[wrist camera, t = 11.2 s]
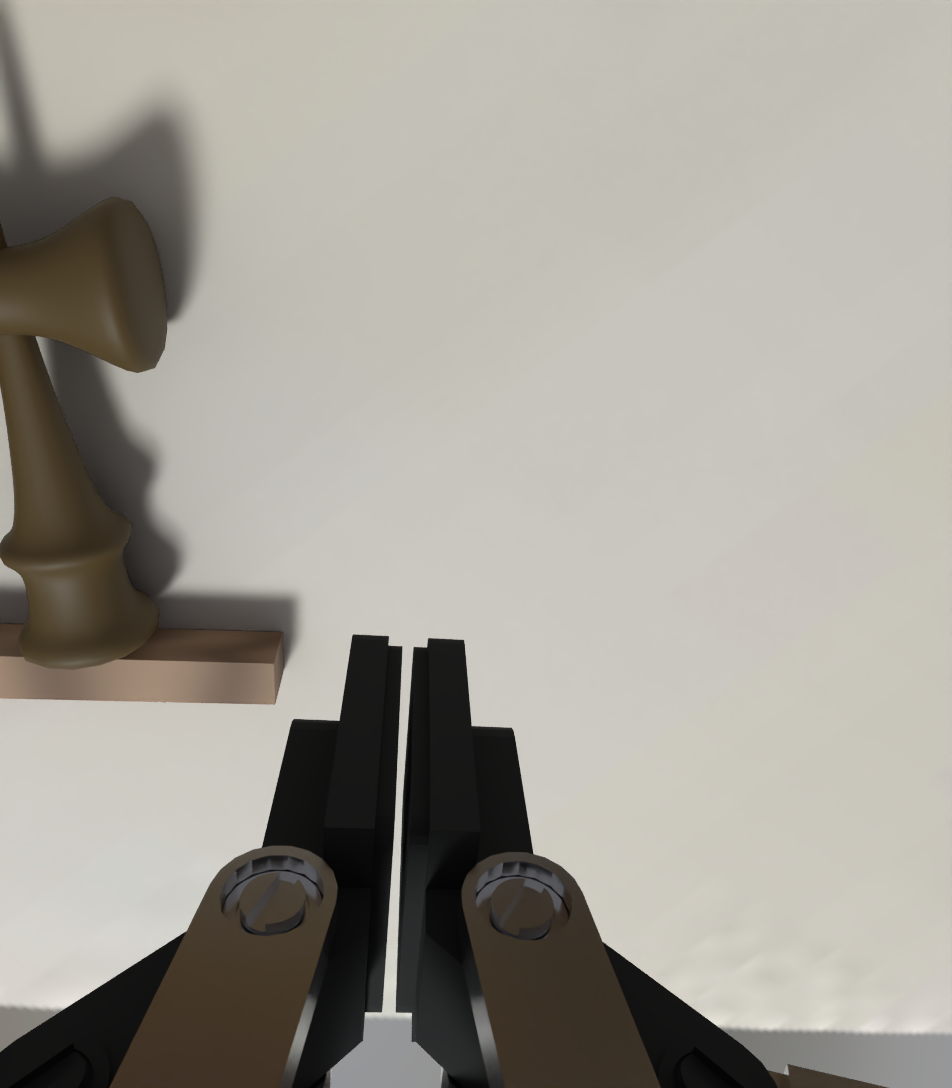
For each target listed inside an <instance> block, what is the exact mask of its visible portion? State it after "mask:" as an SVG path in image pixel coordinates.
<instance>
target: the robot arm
mask: <svg viewBox="0 0 952 1088" xmlns="http://www.w3.org/2000/svg"><path fill="white" fill-rule="evenodd" d="M388 642H389V636H373V635H353V636H352V642H351V649H350V656H349V662H348V669H347V675H346V682H345V689H344V695H343V702H342V709H341V715H340V721H328V720H304V719H294V720H293V721H292V724H291V727H290V731H289V736H288V740H287V744H286V748H285V752H284V757H283V761H282V765H281V769H280V774H279V778H278V782H277V786H276V791H275V795H274V799H273V803H272V807H271V812H270V816H269V820H268V824H267V829H266V833H265V837H264V841H263V846H262V848H259V849H254V850H251V851H249V852H247V853H245V854H243V855H240V856H238V857H236V858H234V859H233V860H232V861H231V862H229V863H228V864H227V865H226V866H224V867H223V868H222V869H220V871H219V872H218V874H217V875H216V876H215V878H214V879H213V881H212V882H211V883H210V885H209V887H208V889H207V891H206V893H205V895H204V897H203V899H202V901H201V903H200V905H199V907H198V909H197V911H196V913H195V915H194V917H193V919H192V922H191V924H190V926H189V928H188V930H187V931H186V932H185V933H183V934H181V935H180V936H178V937H177V938H175V939H174V940H172V941H170V942H169V943H167V944H166V945H164V946H163V947H161V948H159V949H158V950H156V951H155V952H153V953H152V954H150V955H149V956H147V957H145V958H144V959H142V960H141V961H139V962H138V963H136V964H134V965H133V966H131V967H130V968H128V969H127V970H125V971H123V972H122V973H120V974H119V975H117V976H116V977H114V978H113V979H111V980H109V981H108V982H106V983H105V984H103V985H102V986H100V987H98V988H97V989H95V990H94V991H92V992H91V993H89V994H87V995H86V996H84V997H83V998H81V999H80V1000H78V1001H77V1002H75V1003H73V1004H72V1005H70V1006H69V1007H67V1008H66V1009H64V1010H62V1011H61V1012H59V1013H58V1014H56V1015H55V1016H53V1017H52V1018H50V1019H48V1020H47V1021H45V1022H44V1023H42V1024H41V1025H39V1026H37V1027H36V1028H34V1029H33V1030H31V1031H30V1032H28V1033H27V1034H25V1035H23V1036H22V1037H20V1038H19V1039H17V1040H16V1041H14V1042H13V1043H11V1044H10V1045H9V1046H8V1047H6V1048H5V1049H4V1050H3V1051H1V1052H0V1088H330V1085H331V1074H332V1067H333V1066H334V1065H336V1064H337V1063H338V1062H339V1061H340V1060H341V1059H342V1058H343V1057H344V1056H346V1055H347V1054H348V1053H349V1052H350V1051H351V1050H352V1049H354V1048H355V1047H356V1046H357V1045H358V1044H359V1043H360V1042H362V1041H363V1031H364V1017H365V1012H382V1005H383V990H384V975H385V960H386V945H387V930H388V915H389V900H390V885H391V871H392V856H393V840H394V822H395V801H396V779H397V756H398V734H399V711H400V689H401V666H402V646H388ZM396 1012H402V1013H412V1042H417V1043H418V1044H419V1045H420V1046H421V1047H422V1048H423V1049H424V1050H425V1051H426V1052H427V1053H428V1054H429V1055H430V1056H431V1057H432V1058H433V1059H434V1060H435V1061H436V1062H437V1063H438V1064H440V1066H441V1088H887V1087H883V1086H879V1085H875V1084H871V1083H866V1082H862V1081H858V1080H854V1079H849V1078H845V1077H840V1076H836V1075H832V1074H828V1073H824V1072H819V1071H815V1070H811V1069H807V1068H802V1067H798V1066H794V1065H790V1064H787V1066H786V1068H785V1071H784V1074H781V1073H777V1072H773V1071H769V1070H766V1068H765V1067H764V1065H763V1064H762V1062H760V1061H759V1060H758V1059H757V1058H756V1057H755V1056H754V1055H753V1054H752V1053H751V1052H749V1050H747V1049H746V1048H745V1047H744V1046H743V1045H742V1044H740V1043H739V1042H738V1041H736V1040H735V1039H733V1038H732V1037H731V1036H729V1035H728V1034H727V1033H725V1032H724V1031H723V1030H721V1029H720V1028H719V1027H717V1026H716V1025H715V1024H713V1023H712V1022H711V1021H709V1020H708V1019H706V1018H705V1017H704V1016H702V1015H701V1014H700V1013H698V1012H697V1011H696V1010H694V1009H693V1008H692V1007H690V1006H689V1005H687V1004H686V1003H685V1002H683V1001H682V1000H681V999H679V998H678V997H677V996H675V995H674V994H673V993H671V992H670V991H668V990H667V989H666V988H664V987H663V986H662V985H660V984H659V983H658V982H656V981H655V980H654V979H652V978H651V977H650V976H648V975H647V974H645V973H644V972H643V971H641V970H640V969H639V968H637V967H636V966H635V965H633V964H632V963H631V962H629V961H628V960H626V959H625V958H624V957H622V956H621V955H620V954H618V953H617V952H616V951H614V950H613V949H612V948H610V947H609V946H607V945H606V944H605V943H603V942H602V940H601V937H600V935H599V932H598V930H597V927H596V925H595V922H594V920H593V917H592V915H591V912H590V910H589V907H588V905H587V902H586V900H585V897H584V895H583V892H582V891H581V889H580V887H579V886H578V884H577V882H576V881H575V879H574V878H573V877H572V876H571V875H570V874H569V873H568V872H567V871H566V870H565V869H563V868H562V867H561V866H560V865H558V864H556V863H554V862H552V861H550V860H549V859H547V858H545V857H542V856H538V855H534V854H533V849H532V842H531V836H530V830H529V823H528V817H527V811H526V805H525V798H524V792H523V786H522V779H521V773H520V767H519V760H518V754H517V748H516V741H515V736H514V732H513V729H512V728H501V727H477V726H471V714H470V702H469V690H468V678H467V667H466V655H465V644H464V640H453V639H433V638H428V645H427V648H423V647H414V650H413V663H412V677H411V691H410V705H409V719H408V733H407V747H406V761H405V775H404V790H403V808H402V837H401V868H400V898H399V928H398V958H397V989H396Z"/></svg>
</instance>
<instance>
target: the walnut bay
mask: <svg viewBox="0 0 952 1088" xmlns="http://www.w3.org/2000/svg"><path fill="white" fill-rule="evenodd" d="M23 626H24V624H0V698H9V699H54V700H98V701H142V702H187V703H231V704H275V703H276V699H277V695H278V691H279V687H280V683H281V679H282V675H283V632H261V631H228V630H195V629H163V628H157V629H156V630H155V631H154V633H153V634H152V635H151V637H150V638H149V639H148V640H147V642H146V643H145V644H144V645H142V646H141V647H139V648H138V649H136V650H135V651H133V652H132V653H130V654H128V655H127V656H125V657H122V658H120V659H117V660H114V661H111V662H108V663H106V664H103V665H99V666H93V667H87V668H81V669H75V670H69V669H49V668H46V667H43V666H40V665H37V664H34V663H31V662H28V661H25V659H24V657H23V655H22V653H21V651H20V649H19V647H18V645H17V643H18V638H19V635H20V633H21V630H22V628H23Z"/></svg>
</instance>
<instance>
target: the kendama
mask: <svg viewBox="0 0 952 1088" xmlns="http://www.w3.org/2000/svg"><path fill="white" fill-rule="evenodd" d="M166 334H167V306H166V297H165V289H164V281H163V274H162V270H161V266H160V262H159V257H158V253H157V249H156V246H155V243H154V240H153V237H152V235H151V232H150V229H149V226H148V224H147V222H146V221H145V219H144V218H143V216H142V215H141V213H140V212H139V210H138V209H137V208H136V206H135V205H134V204H133V202H130V201H127V200H124V199H121V198H115V197H111V198H109V199H106V200H103V201H101V202H100V203H98V204H96V205H95V206H93V207H92V208H90V209H88V210H87V211H86V212H84V213H83V214H81V215H80V216H79V217H77V218H76V219H74V220H73V221H71V222H70V223H69V224H67V225H66V226H64V227H63V228H61V229H60V230H58V231H56V232H55V233H53V234H51V235H49V236H48V237H46V238H44V239H41V240H38V241H35V242H33V243H30V244H25V245H20V246H15V247H7V244H6V241H5V237H4V234H3V230H2V227H1V224H0V387H1V393H2V399H3V405H4V412H5V419H6V425H7V433H8V441H9V448H10V457H11V466H12V475H13V487H14V521H13V527H12V529H11V531H10V532H9V533H8V534H6V535H5V536H4V538H3V540H2V541H1V543H0V558H1V559H2V561H3V563H4V564H5V565H6V566H7V567H9V568H11V569H13V570H15V571H16V572H17V573H19V574H20V575H21V577H22V578H23V581H24V584H25V587H26V592H27V596H28V605H29V618H28V619H27V621H26V622H25V624H24V626H23V628H22V630H21V633H20V635H19V638H18V643H17V645H18V647H19V649H20V651H21V653H22V655H23V657H24V659H25V661H28V662H31V663H34V664H37V665H40V666H43V667H46V668H49V669H69V670H75V669H81V668H87V667H93V666H99V665H103V664H106V663H108V662H111V661H114V660H117V659H120V658H122V657H125V656H127V655H128V654H130V653H132V652H133V651H135V650H136V649H138V648H139V647H141V646H142V645H144V644H145V643H146V642H147V640H148V639H149V638H150V637H151V635H152V634H153V633H154V631H155V630H156V629H157V628H158V623H159V616H160V612H159V608H158V607H157V606H156V604H155V603H154V602H153V601H152V600H151V598H150V597H149V596H148V595H146V594H144V593H142V592H139V591H138V590H136V589H134V588H133V587H132V585H131V583H130V580H129V577H128V575H127V571H126V567H125V563H124V556H123V549H124V547H125V545H126V544H127V543H128V541H129V539H130V535H131V529H132V524H131V522H130V521H129V520H127V519H126V518H125V517H124V516H123V515H122V514H120V513H118V512H115V511H113V510H112V509H110V508H109V507H107V506H106V504H105V503H104V501H103V500H102V498H101V497H100V495H99V493H98V492H97V490H96V488H95V486H94V484H93V482H92V480H91V478H90V476H89V474H88V471H87V469H86V467H85V465H84V463H83V460H82V458H81V456H80V453H79V451H78V449H77V446H76V444H75V442H74V439H73V437H72V434H71V432H70V429H69V427H68V425H67V422H66V420H65V417H64V415H63V412H62V409H61V407H60V404H59V402H58V399H57V397H56V394H55V391H54V388H53V386H52V383H51V380H50V377H49V375H48V372H47V369H46V366H45V364H44V361H43V358H42V355H41V352H40V349H39V346H38V343H37V340H36V337H35V336H40V337H46V338H50V339H54V340H58V341H62V342H64V343H67V344H69V345H72V346H74V347H77V348H79V349H81V350H83V351H86V352H88V353H90V354H92V355H94V356H96V357H98V358H100V359H102V360H104V361H107V362H109V363H111V364H113V365H115V366H118V367H120V368H122V369H125V370H127V371H132V372H136V373H139V372H143V371H147V370H150V369H153V368H155V367H156V365H157V363H158V361H159V359H160V357H161V355H162V353H163V351H164V349H165V342H166Z"/></svg>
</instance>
